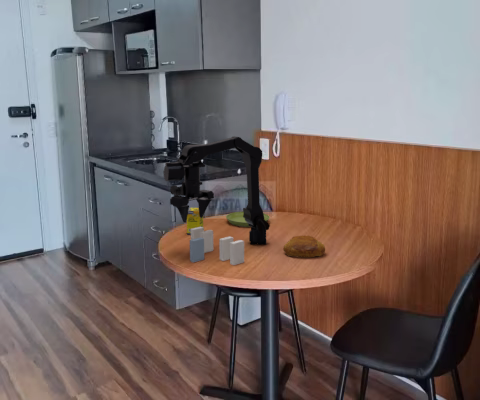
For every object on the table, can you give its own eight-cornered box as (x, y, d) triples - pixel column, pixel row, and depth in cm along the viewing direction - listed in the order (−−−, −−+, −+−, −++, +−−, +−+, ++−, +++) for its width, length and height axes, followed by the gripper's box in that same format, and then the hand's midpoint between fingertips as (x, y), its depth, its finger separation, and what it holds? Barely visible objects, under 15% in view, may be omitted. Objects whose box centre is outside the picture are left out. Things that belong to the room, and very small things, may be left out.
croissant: (322, 266, 178) (326, 245, 176) (281, 257, 181) (284, 237, 178) (323, 252, 192) (327, 233, 190) (284, 245, 194) (287, 226, 192)
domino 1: (204, 247, 193) (203, 227, 192) (194, 249, 190) (193, 229, 188) (201, 245, 195) (200, 226, 193) (191, 248, 192) (190, 228, 190)
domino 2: (204, 259, 179) (203, 238, 177) (193, 262, 176) (192, 241, 174) (201, 258, 180) (200, 237, 179) (190, 261, 177) (189, 240, 175)
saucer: (220, 226, 224) (220, 220, 223) (233, 216, 243) (233, 210, 242) (263, 230, 218) (263, 223, 217) (273, 219, 237) (274, 212, 236)
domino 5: (244, 262, 176) (244, 241, 174) (233, 265, 173) (233, 243, 171) (240, 260, 177) (240, 239, 176) (230, 263, 174) (229, 242, 172)
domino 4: (233, 258, 180) (233, 237, 178) (223, 261, 177) (222, 240, 175) (230, 256, 182) (229, 236, 180) (219, 259, 178) (219, 238, 177)
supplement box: (200, 235, 209) (199, 211, 207) (186, 234, 210) (186, 210, 208) (203, 231, 215) (203, 207, 212) (190, 231, 216) (190, 207, 213)
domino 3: (213, 250, 189) (213, 230, 187) (203, 253, 186) (202, 233, 184) (210, 249, 190) (210, 229, 189) (200, 252, 187) (199, 232, 186)
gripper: (192, 174, 192) (193, 212, 195) (158, 180, 177) (160, 221, 181) (214, 176, 186) (214, 216, 189) (180, 183, 171) (181, 226, 174)
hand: (192, 219), depth 183 cm, fingers open, 9 cm apart
